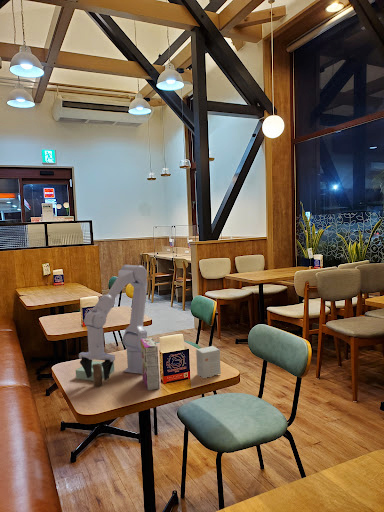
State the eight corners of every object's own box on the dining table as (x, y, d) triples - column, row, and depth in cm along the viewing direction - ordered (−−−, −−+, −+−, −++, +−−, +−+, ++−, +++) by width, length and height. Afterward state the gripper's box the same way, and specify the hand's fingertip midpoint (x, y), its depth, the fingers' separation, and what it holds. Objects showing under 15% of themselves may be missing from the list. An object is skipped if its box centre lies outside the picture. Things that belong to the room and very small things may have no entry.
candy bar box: (141, 379, 148) (139, 338, 147) (154, 377, 150) (152, 337, 148) (146, 391, 138) (144, 347, 136) (160, 389, 139) (158, 345, 138)
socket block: (114, 370, 158) (113, 362, 158) (100, 381, 148) (99, 372, 148) (91, 368, 162) (91, 360, 161) (76, 378, 151) (75, 370, 151)
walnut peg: (104, 384, 145) (103, 363, 144) (99, 387, 142) (98, 367, 141) (97, 383, 146) (95, 363, 145) (92, 386, 143) (91, 366, 142)
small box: (214, 370, 155) (213, 345, 154) (221, 375, 150) (220, 349, 149) (196, 374, 151) (195, 348, 151) (203, 379, 146) (202, 352, 146)
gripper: (73, 344, 141) (75, 380, 142) (107, 347, 137) (109, 384, 138) (84, 339, 148) (86, 373, 149) (117, 341, 143) (118, 376, 144)
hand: (97, 378), depth 144 cm, fingers open, 7 cm apart
